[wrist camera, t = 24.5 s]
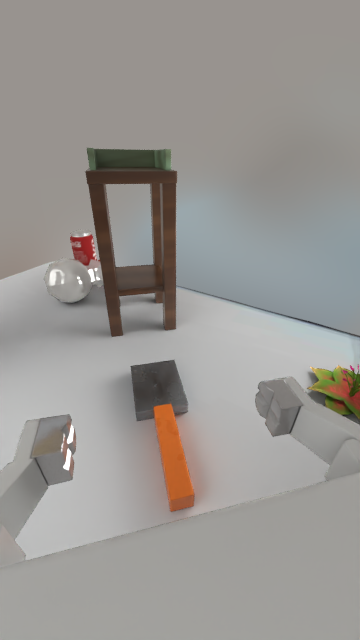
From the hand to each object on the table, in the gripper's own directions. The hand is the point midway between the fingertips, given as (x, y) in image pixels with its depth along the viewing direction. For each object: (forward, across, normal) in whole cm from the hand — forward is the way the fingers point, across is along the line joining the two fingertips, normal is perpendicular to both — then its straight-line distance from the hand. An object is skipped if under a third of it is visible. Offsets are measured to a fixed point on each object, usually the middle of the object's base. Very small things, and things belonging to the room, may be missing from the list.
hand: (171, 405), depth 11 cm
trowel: (+13, -2, +19) cm, 23 cm away
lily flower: (+12, -27, +19) cm, 35 cm away
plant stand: (+39, -2, +19) cm, 44 cm away
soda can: (+60, +9, +19) cm, 64 cm away
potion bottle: (+51, +10, +19) cm, 56 cm away
